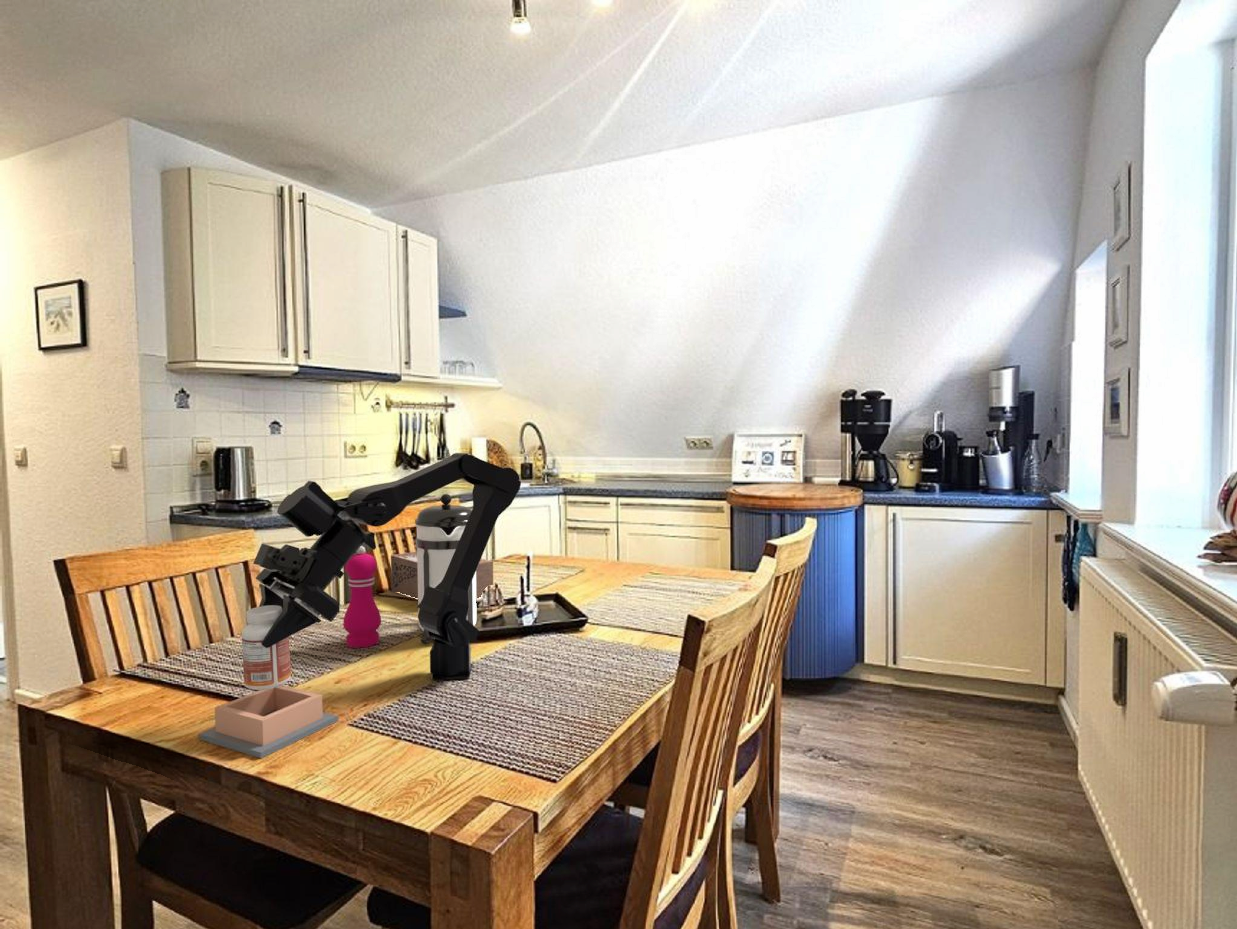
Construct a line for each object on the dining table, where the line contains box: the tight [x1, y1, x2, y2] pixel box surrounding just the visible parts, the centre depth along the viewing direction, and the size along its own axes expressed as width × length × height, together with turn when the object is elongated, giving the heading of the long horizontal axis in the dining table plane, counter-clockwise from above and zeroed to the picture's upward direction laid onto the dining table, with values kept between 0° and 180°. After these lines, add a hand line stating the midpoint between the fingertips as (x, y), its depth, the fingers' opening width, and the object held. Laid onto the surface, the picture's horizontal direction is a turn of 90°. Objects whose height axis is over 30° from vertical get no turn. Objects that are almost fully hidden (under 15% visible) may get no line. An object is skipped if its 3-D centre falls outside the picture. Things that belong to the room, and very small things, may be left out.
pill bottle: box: [241, 605, 292, 691], centre depth 102 cm, size 6×6×11 cm
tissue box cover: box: [390, 551, 494, 598], centre depth 182 cm, size 26×14×10 cm, turn 46°
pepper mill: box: [342, 545, 382, 649], centre depth 142 cm, size 7×7×20 cm
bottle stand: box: [198, 685, 339, 759], centre depth 102 cm, size 13×13×4 cm
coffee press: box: [414, 493, 477, 645], centre depth 148 cm, size 17×16×30 cm
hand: (256, 641), depth 101 cm, fingers closed on pill bottle, 6 cm apart
